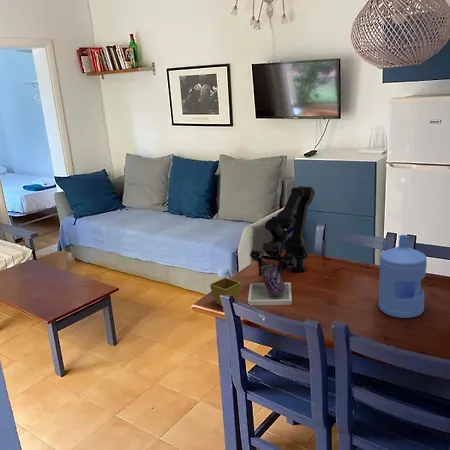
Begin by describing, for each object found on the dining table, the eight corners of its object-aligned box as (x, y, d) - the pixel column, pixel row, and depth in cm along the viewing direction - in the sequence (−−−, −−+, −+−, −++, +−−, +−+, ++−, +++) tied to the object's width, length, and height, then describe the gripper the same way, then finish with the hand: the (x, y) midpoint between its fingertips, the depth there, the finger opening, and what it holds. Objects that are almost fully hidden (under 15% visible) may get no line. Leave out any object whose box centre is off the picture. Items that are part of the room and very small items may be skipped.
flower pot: (226, 297, 191) (225, 277, 189) (242, 303, 185) (241, 282, 183) (211, 305, 186) (209, 284, 183) (226, 311, 179) (225, 289, 177)
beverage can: (270, 297, 184) (259, 269, 183) (268, 294, 191) (258, 266, 190) (287, 291, 183) (276, 262, 183) (285, 288, 191) (275, 260, 190)
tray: (250, 287, 199) (250, 283, 199) (290, 286, 197) (290, 282, 196) (247, 305, 183) (247, 301, 182) (291, 304, 181) (291, 300, 180)
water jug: (369, 307, 175) (370, 235, 167) (398, 295, 182) (401, 227, 174) (403, 323, 161) (406, 247, 153) (433, 310, 169) (438, 236, 161)
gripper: (250, 231, 191) (239, 266, 185) (293, 235, 181) (282, 272, 175) (260, 243, 199) (249, 277, 193) (301, 248, 190) (291, 283, 184)
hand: (267, 277), depth 186 cm, fingers closed on beverage can, 6 cm apart
